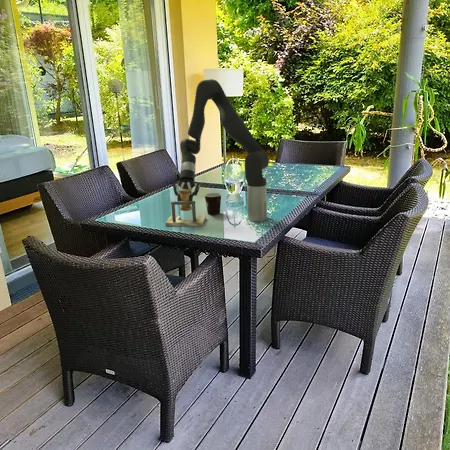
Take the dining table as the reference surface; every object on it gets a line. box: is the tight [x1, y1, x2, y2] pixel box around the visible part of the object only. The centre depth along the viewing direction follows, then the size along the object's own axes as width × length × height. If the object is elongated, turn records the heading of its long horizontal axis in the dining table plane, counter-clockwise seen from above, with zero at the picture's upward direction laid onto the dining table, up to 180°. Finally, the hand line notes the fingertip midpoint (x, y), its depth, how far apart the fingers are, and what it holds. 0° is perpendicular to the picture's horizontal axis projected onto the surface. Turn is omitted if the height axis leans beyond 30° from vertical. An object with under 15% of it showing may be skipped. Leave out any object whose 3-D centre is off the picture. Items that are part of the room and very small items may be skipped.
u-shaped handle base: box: [165, 200, 207, 227], centre depth 216 cm, size 18×11×12 cm, turn 84°
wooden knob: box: [178, 188, 192, 212], centre depth 217 cm, size 6×6×10 cm
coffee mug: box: [204, 192, 222, 216], centre depth 227 cm, size 12×9×10 cm
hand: (184, 202), depth 215 cm, fingers closed on wooden knob, 4 cm apart
